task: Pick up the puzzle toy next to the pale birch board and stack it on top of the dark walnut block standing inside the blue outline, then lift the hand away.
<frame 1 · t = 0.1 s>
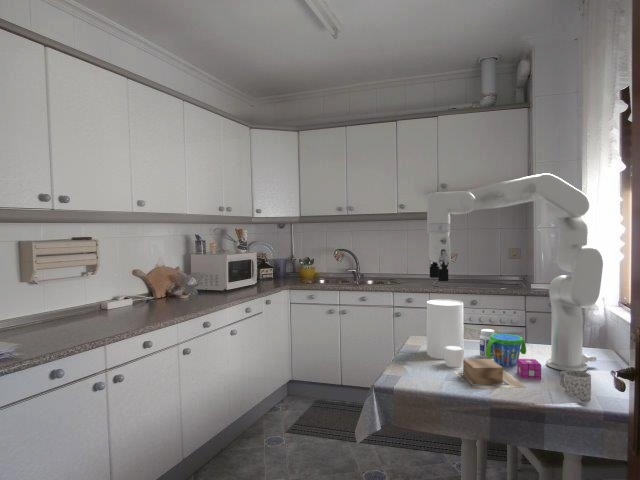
hand: (438, 279, 155), 31 cm above the table, tool pointing down, fingers open, 9 cm apart
snack cup: (506, 365, 161), on the table
puzzle toy: (528, 379, 147), on the table
canister: (444, 354, 175), on the table
walnut base block: (482, 378, 144), point 1 cm above the table, touching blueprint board
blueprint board: (488, 381, 144), on the table
shot glass: (453, 368, 159), on the table
pill bottle: (487, 356, 171), on the table
mug: (573, 395, 133), on the table
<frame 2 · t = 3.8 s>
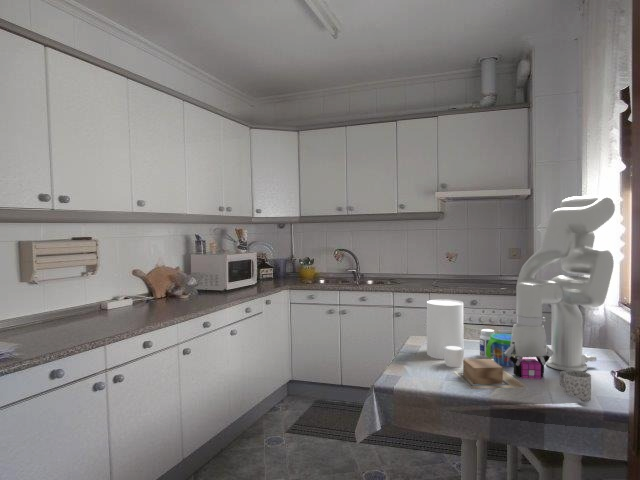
hand: (528, 375, 147), 1 cm above the table, tool pointing down, fingers closed on puzzle toy, 6 cm apart
puzzle toy: (528, 379, 147), on the table, touching gripper
everything else where it was.
when the fingers open (8 cm above the table, at t = 8.4 s): puzzle toy drops 1 cm, resting on walnut base block.
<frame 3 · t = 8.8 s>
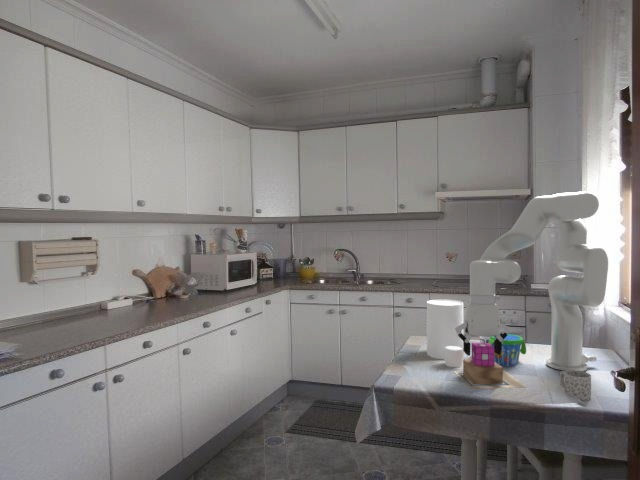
hand: (482, 353, 144), 9 cm above the table, tool pointing down, fingers open, 9 cm apart
puzzle toy: (482, 363, 144), point 6 cm above the table, touching walnut base block
walnut base block: (482, 378, 144), point 1 cm above the table, touching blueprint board, puzzle toy
everything else where it was.
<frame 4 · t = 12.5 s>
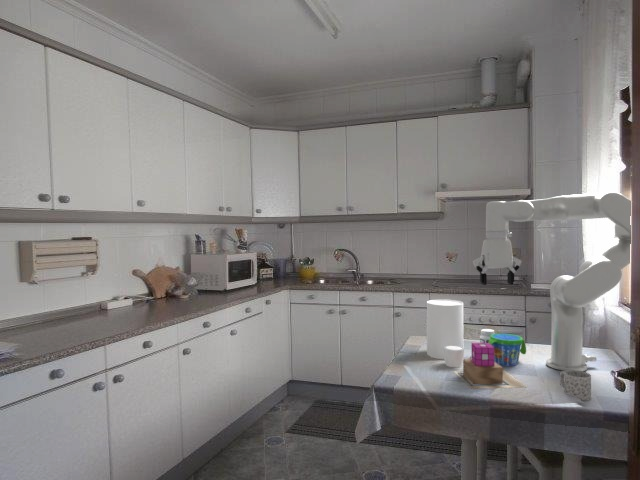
hand: (497, 284, 162), 28 cm above the table, tool pointing down, fingers open, 9 cm apart
nothing on the table moved.
at the end: puzzle toy 0.1 cm off-centre on the walnut base block, point 4.8 cm above the walnut base block's base; puzzle toy tilted 0°; walnut base block moved 0.0 cm from its start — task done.
